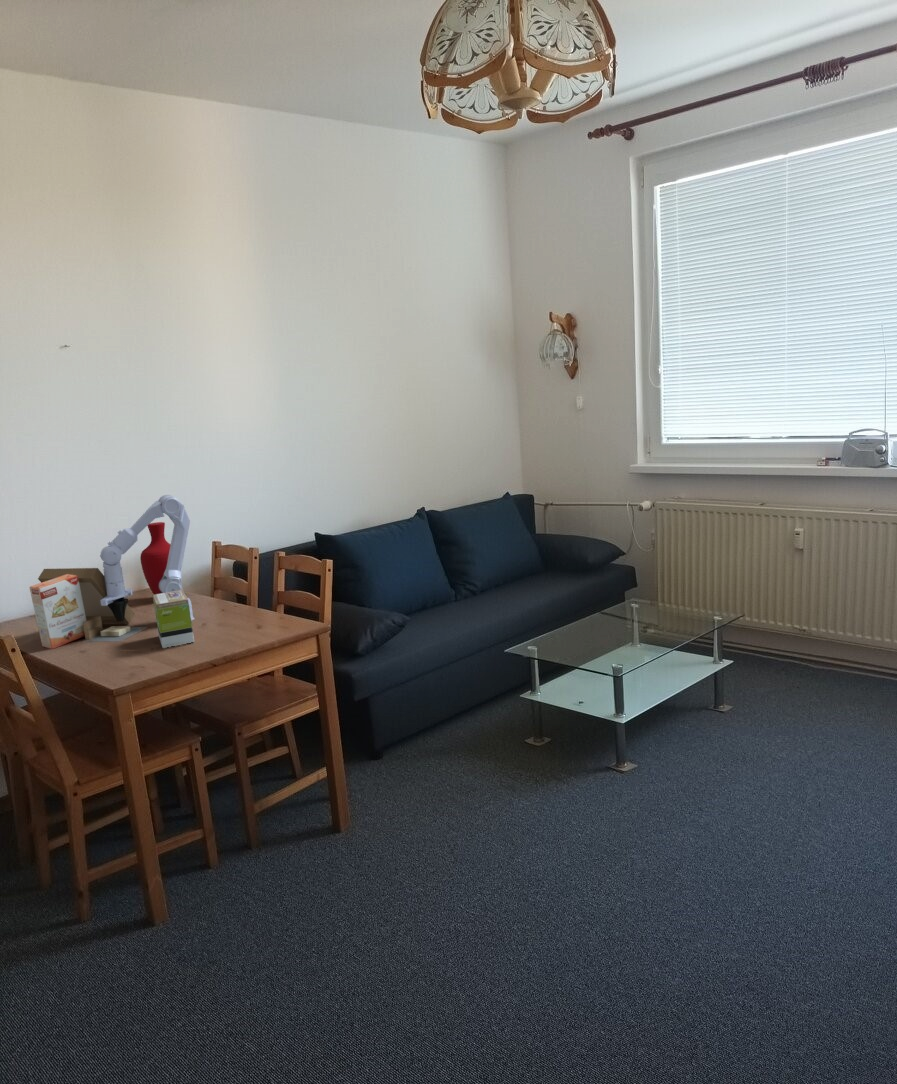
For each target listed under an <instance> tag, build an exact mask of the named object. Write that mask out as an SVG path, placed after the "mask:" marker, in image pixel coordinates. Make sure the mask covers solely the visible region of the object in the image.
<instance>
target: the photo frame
mask: <svg viewBox="0 0 897 1084" xmlns="http://www.w3.org/2000/svg"><path fill="white" fill-rule="evenodd" d="M66 574H70V575H76V576H78V580H79V585H80V590H81V595H82V600H83V605H84V611H85V616H86V621H87V620H89V619H91V618H94V617H96V616H101V621H102V624H122V625H123V624H126V625H127V624H130V623H131V621H132V619H133V618H134V616H135V612H134V610H132V608H131V607H130V606H129V605H128V604H127V606H126V609H125V617H124V621H116V619H115V616H114V614H113V612H112V611H111V609H110V608H109V607H108V606H101V602H100V600H102V599H103V598H105V597H106V596H107V590H106V584H105V577H104V573H102V571H101V570H100V569H99V568H98V567H84V568H83V567H82V568H80V567H77V568H76V567H75V568H69V567H68V568H43V570H42V572H40V574H39V576H38V578H37V580H38V581H39V582H40V583H42V582H45V581H48V580H51V579H54V578H57V577H60V576H63V575H66Z"/></svg>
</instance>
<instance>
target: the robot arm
mask: <svg viewBox="0 0 897 1084" xmlns="http://www.w3.org/2000/svg"><path fill="white" fill-rule="evenodd" d="M165 515H166V516H168V517H169V519H170V521H171V522H172V523H173V525H174V526H173V530H172V534H171V535H172V536H171V540H170V544H171V545H170V551H169V556H168V562H167V567H166V570H165V572H164V576H163V578H162V579H161V581H160V582H159V589H160V591H161V592H162V593H167V592H173V591H179V590H183V586H182V568H183V563H184V562H183V561H184V556H185V552H186V546H187V540H188V534H189V531H190V530H189V529H190V524H191V520H190V517H189V515H188V514H187V510H186V508H185V504H183V503H182V502H181V500H180V499H179V498H177V497H175V496H172V495H170V494H164V495H161V496H160V497H159V499H158V500H156V501H154V502H153V503H152V504H151V505H150V506H149V507H148V508H147V509H146V511H144V512H143V514H142V515H141V516H140V517H139V518H138V519H137V521H136V522H135V523H133V525H132V526H130V528H123V529H122V530H121V529H120V530H119V531H118V532H117V535H116V537H114V538H113V540H111V541H109V542H107V546H104V547H103V548H102V549H101V551H100V555H99V557H100V559H101V560H102V561H103V562H102V567H103V569H102V570H103V575H104V577H105V584H106V590H107V596H106V597H105V598H103V599H102V600H100V602H101V606H108V607H109V608H110V609H111V611H112V612H113V614H114V616H115V619H116V621H124V617H125V609H126V606H127V605H128V603H129V598H126V597H129V596H132V595H133V594H134V593H133V589H131V588H126V589H125V582H124V581H125V580H124V574H123V567H122V565H121V560H122V555H125V554H126V553H127V552H128V551H129V550H130V549H131V548H132V547H133V546H134V545H135V543H137V542H138V535H139V534H140V533H142V531H143V530H144V529H146V528H147V527H148V525H149V524H150V523H153V521H154V520H155V519H158V518H159V519H160V518H164V517H165ZM187 599H188V602H189V608H190V616H191V621H193V620H195V617H194V612H193V606H192V601H191V599H190V598H189V597H187Z"/></svg>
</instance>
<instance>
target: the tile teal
mask: <svg viewBox="0 0 897 1084" xmlns="http://www.w3.org/2000/svg"><path fill="white" fill-rule="evenodd" d="M130 627H131V626H130V625H128V626H126V625H125V626H123V625H121V626H120V625H119V626H118V625H117V626H115V625H114V626H112V625H111V626H110V627H107V628H105V629H103V631H100V632H101V636H121V635H123V634H125V633H127V632H129V631H130Z"/></svg>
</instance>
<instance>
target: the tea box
mask: <svg viewBox="0 0 897 1084" xmlns="http://www.w3.org/2000/svg"><path fill="white" fill-rule="evenodd" d="M187 598H188V597H187V594H185V592H184V589H182V590H179V591H173V592H167V593H161V594H155V595H154V594H152V601H153V602H152V603H153V608H154V613H155V620H156V627H157V633H158V638H159V641H160V644H161V647H162V649H167V647H169V648H172V647H171V646H175V647H177V646H176V645H180V646H182V645H181V644H186V643H191V642H194V643H195V636H194V631H193V624H192V620H191V616H190V608H189V602H188V599H187ZM191 644H192V643H191ZM186 645H187V644H186Z"/></svg>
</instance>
